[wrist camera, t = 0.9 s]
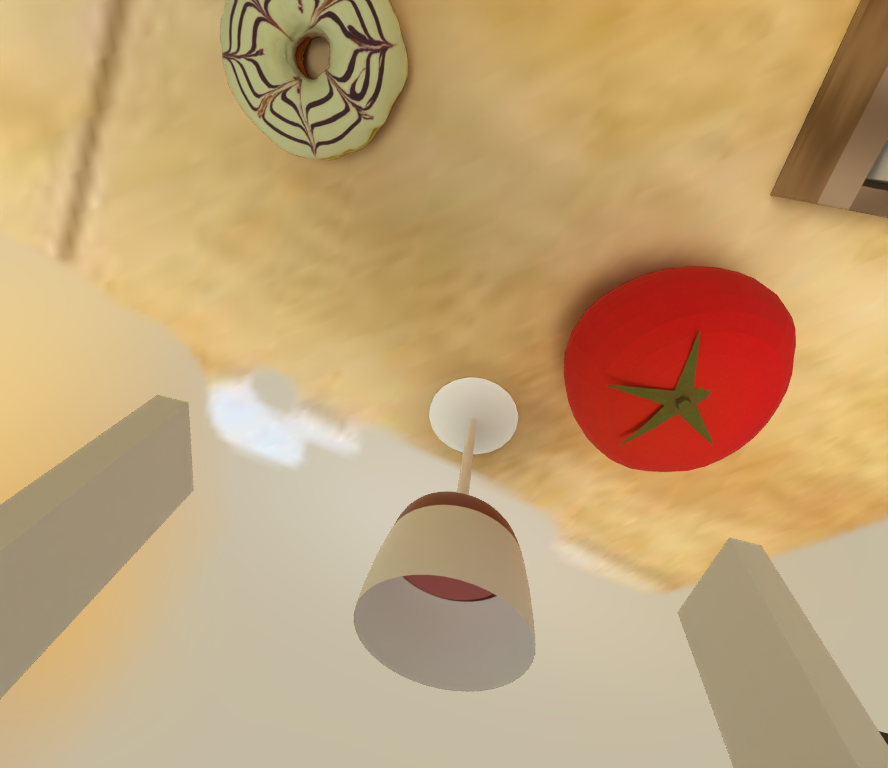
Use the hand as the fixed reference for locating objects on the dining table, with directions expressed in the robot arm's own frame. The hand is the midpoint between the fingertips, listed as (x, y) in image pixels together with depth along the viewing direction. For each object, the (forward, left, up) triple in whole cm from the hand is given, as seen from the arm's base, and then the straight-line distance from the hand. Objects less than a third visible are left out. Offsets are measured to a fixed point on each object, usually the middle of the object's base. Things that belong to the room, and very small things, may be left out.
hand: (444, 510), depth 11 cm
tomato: (+2, +12, -25) cm, 28 cm away
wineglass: (+12, +1, -25) cm, 28 cm away
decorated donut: (-11, -13, -26) cm, 30 cm away
